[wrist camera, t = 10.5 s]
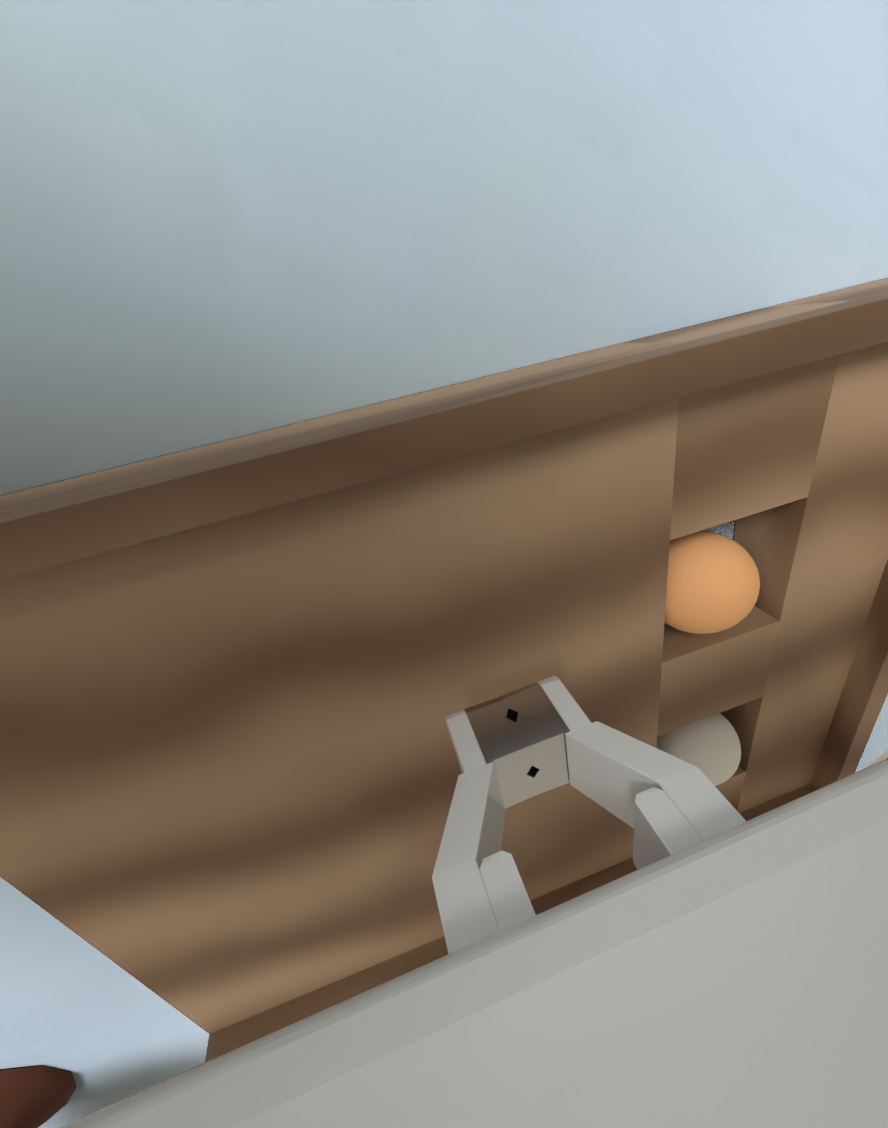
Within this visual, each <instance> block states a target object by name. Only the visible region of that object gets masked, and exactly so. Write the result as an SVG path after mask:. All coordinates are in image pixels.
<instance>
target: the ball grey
mask: <svg viewBox="0 0 888 1128" xmlns="http://www.w3.org/2000/svg"><path fill="white" fill-rule="evenodd" d="M656 748H657V749H659V750H662V751H664V752H666V753H668V754H670V755H672V756H675V757H677V758H679V759H681V760H683V761H685V762H688V763H690V764H692V765H694V766H696V767H698V768H699V769H700V770H701V771H702V773H703V774H704V775H705V776H706V777H707V778H708V779H709V780H710V781H711V783H712V784H713V785H714V786H716V785H719V784H722V783H724V782H725V781H727V780H728V779H729V778H731V777H732V776H733V774H734V773H735V771H736V770H737V768H738V766H739V763H740V759H741V745H740V741H739V738H738V735H737V733H736V731H735V729H734V728H733V726H732V725H731V723H730V722H729V721H728V720H727V719H726V718H725V717H724V716H723V715H722V714H721V713H718V714H716V715H713V716H710V717H708V718H705V719H703V720H700V721H697V722H695V723H692V724H689V725H687V726H684V727H682V728H679V729H676V730H674V731H671V732H668V733H666V734H663V735H660V736H658V737H657V747H656Z"/></svg>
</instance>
